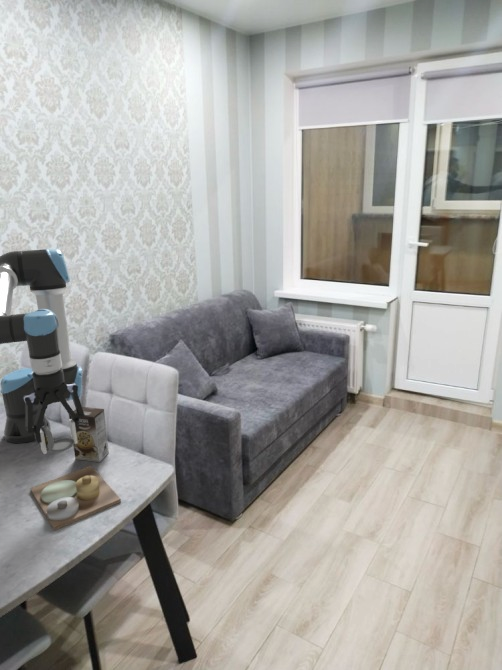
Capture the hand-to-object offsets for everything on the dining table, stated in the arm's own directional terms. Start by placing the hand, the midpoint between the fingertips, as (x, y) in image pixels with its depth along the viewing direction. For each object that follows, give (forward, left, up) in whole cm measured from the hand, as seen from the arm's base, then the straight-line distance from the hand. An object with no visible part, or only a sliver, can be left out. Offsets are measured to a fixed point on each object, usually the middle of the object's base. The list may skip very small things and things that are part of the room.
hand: (59, 446), depth 132 cm
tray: (+3, +1, -15) cm, 15 cm away
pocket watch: (0, -1, 0) cm, 1 cm away
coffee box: (-15, +13, -15) cm, 25 cm away
